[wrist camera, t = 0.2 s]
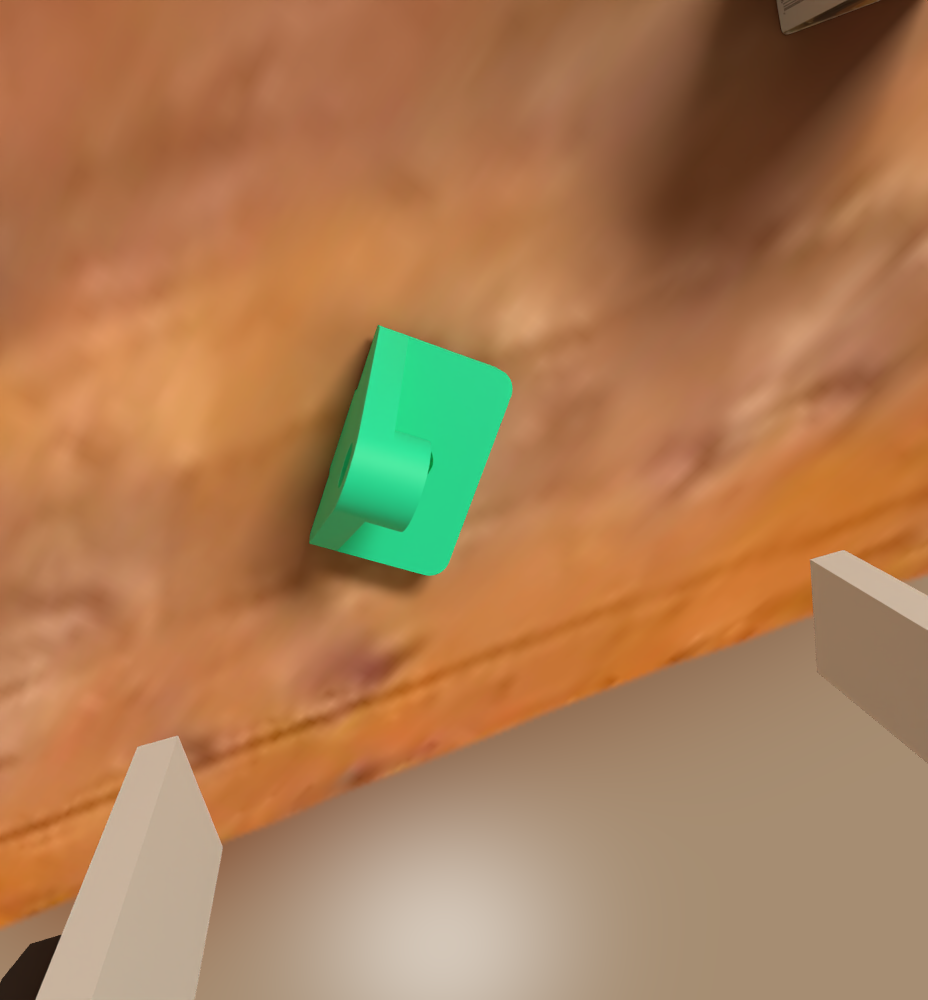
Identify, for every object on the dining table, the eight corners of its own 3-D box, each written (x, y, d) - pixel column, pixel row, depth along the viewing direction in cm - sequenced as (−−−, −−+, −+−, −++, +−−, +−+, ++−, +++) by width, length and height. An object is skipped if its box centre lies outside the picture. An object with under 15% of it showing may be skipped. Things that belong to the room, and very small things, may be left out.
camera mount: (436, 562, 44) (465, 644, 35) (310, 527, 42) (304, 604, 33) (507, 370, 42) (561, 400, 32) (376, 323, 40) (391, 340, 30)
